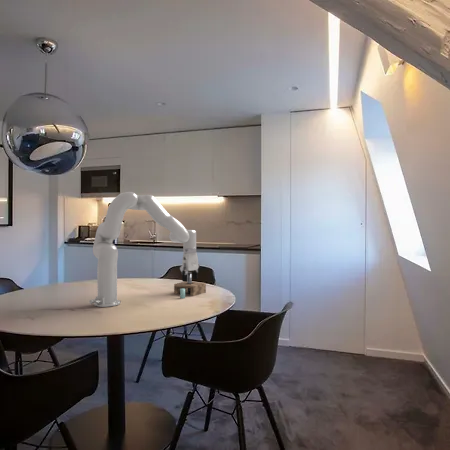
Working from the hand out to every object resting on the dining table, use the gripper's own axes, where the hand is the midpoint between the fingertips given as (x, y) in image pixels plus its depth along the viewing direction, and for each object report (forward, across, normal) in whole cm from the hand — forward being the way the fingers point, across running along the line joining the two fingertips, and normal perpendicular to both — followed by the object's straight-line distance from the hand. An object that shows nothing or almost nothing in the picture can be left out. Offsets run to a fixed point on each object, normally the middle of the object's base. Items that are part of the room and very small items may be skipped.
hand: (190, 280), depth 211 cm
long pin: (+7, 0, 0) cm, 7 cm away
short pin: (+7, -13, -5) cm, 16 cm away
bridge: (+7, 0, 0) cm, 7 cm away
